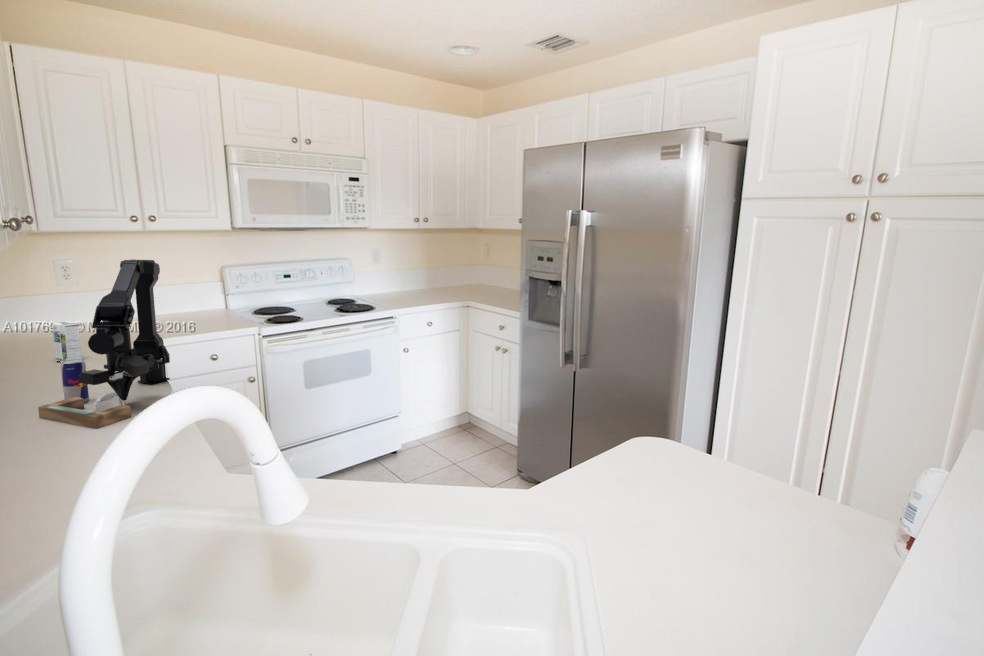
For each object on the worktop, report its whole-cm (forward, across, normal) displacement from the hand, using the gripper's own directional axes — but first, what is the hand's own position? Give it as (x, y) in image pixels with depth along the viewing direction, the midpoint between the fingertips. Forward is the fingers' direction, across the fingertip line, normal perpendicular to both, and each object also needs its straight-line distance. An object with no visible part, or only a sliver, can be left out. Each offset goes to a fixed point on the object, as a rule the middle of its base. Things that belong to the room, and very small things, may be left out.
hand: (123, 400), depth 141 cm
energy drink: (+2, -3, +14) cm, 14 cm away
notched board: (+2, -10, 0) cm, 10 cm away
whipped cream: (+2, -4, 0) cm, 4 cm away
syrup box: (+2, +28, +63) cm, 69 cm away
